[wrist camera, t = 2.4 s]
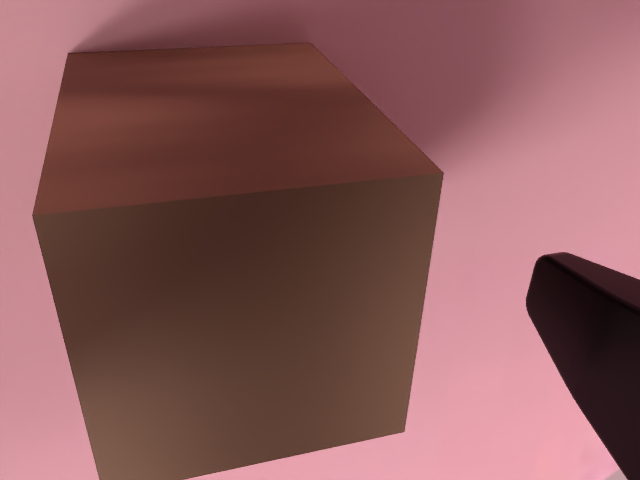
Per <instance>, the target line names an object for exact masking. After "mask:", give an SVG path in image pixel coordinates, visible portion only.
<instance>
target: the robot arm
mask: <svg viewBox="0 0 640 480" xmlns="http://www.w3.org/2000/svg"><path fill="white" fill-rule="evenodd" d="M526 307H527V311H528V314H529V316H530V318H531V320H532V322H533V324H534V326H535V328H536V330H537V331H538V333H539V335H540V337H541V339H542V341H543V343H544V345H545V347H546V348H547V350H548V352H549V354H550V356H551V358H552V360H553V362H554V364H555V365H556V367H557V369H558V371H559V373H560V375H561V377H562V379H563V380H564V382H565V384H566V386H567V388H568V389H569V391H570V393H571V395H572V396H573V398H574V400H575V401H576V403H577V404H578V406H579V408H580V409H581V411H582V412H583V414H584V415H585V417H586V418H587V420H588V421H589V423H590V424H591V426H592V427H593V429H594V430H595V432H596V433H597V435H598V436H599V438H600V439H601V441H602V442H603V444H604V445H605V447H606V448H607V450H608V451H609V453H610V454H611V456H612V457H613V459H614V460H615V462H616V463H617V465H618V466H619V468H620V469H621V471H622V472H623V474H624V475H625V476H626V478H627V479H628V480H640V280H639V279H636V278H634V277H631V276H628V275H626V274H623V273H620V272H618V271H615V270H612V269H610V268H607V267H604V266H602V265H599V264H596V263H594V262H591V261H589V260H586V259H583V258H581V257H578V256H575V255H573V254H570V253H566V252H560V253H553V254H547V255H543V256H541V257H539V258H538V260H537V261H536V263H535V266H534V270H533V274H532V278H531V281H530V285H529V289H528V293H527V297H526Z"/></svg>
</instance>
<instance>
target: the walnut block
mask: <svg viewBox="0 0 640 480" xmlns="http://www.w3.org/2000/svg"><path fill="white" fill-rule="evenodd" d="M442 180H443V172H442V171H441V170H440V169H439V168H438V167H437V166H436V165H435V164H434V163H433V162H432V161H431V160H430V159H429V158H428V157H427V156H426V155H425V154H424V153H423V152H422V151H421V150H420V149H419V148H418V147H417V146H416V145H415V144H414V143H413V142H412V141H411V140H410V139H409V138H408V137H407V136H406V135H405V134H404V133H403V132H402V131H400V130H399V129H398V128H397V127H396V126H395V125H394V124H393V123H392V122H391V121H390V120H389V119H388V118H387V117H386V116H385V115H384V114H383V113H382V112H381V111H380V110H379V109H378V108H377V107H376V106H375V105H374V104H373V103H372V102H371V101H370V100H369V99H368V98H367V97H366V96H365V95H364V94H363V93H362V92H361V91H360V90H359V89H358V88H356V87H355V86H354V85H353V84H352V83H351V82H350V81H349V80H348V79H347V78H346V77H345V76H344V75H343V74H342V73H341V72H340V71H339V70H338V69H337V68H336V67H335V66H334V65H333V64H332V63H331V62H330V61H329V60H328V59H327V58H326V57H325V56H324V55H323V54H322V53H321V52H320V51H319V50H318V49H317V48H316V47H315V46H314V45H313V44H311V43H293V44H270V45H247V46H224V47H202V48H179V49H156V50H133V51H110V52H87V53H68V55H67V60H66V64H65V69H64V74H63V78H62V83H61V87H60V92H59V96H58V101H57V105H56V110H55V114H54V119H53V124H52V128H51V133H50V137H49V142H48V146H47V151H46V155H45V160H44V165H43V169H42V174H41V178H40V183H39V187H38V192H37V196H36V201H35V205H34V210H33V215H32V216H33V220H34V224H35V228H36V232H37V236H38V240H39V244H40V248H41V252H42V256H43V259H44V263H45V267H46V271H47V275H48V279H49V283H50V287H51V291H52V295H53V299H54V303H55V307H56V311H57V314H58V318H59V322H60V326H61V330H62V334H63V338H64V342H65V346H66V350H67V354H68V358H69V362H70V366H71V369H72V373H73V377H74V381H75V385H76V389H77V393H78V397H79V401H80V405H81V409H82V413H83V417H84V421H85V424H86V428H87V432H88V436H89V440H90V444H91V448H92V452H93V456H94V460H95V464H96V468H97V472H98V475H99V479H100V480H184V479H189V478H193V477H198V476H202V475H207V474H212V473H216V472H221V471H226V470H230V469H235V468H239V467H244V466H249V465H253V464H258V463H263V462H267V461H272V460H277V459H281V458H286V457H290V456H295V455H300V454H304V453H309V452H314V451H318V450H323V449H327V448H332V447H337V446H341V445H346V444H351V443H355V442H360V441H365V440H369V439H374V438H378V437H383V436H388V435H392V434H397V433H402V432H404V431H405V424H406V418H407V411H408V404H409V398H410V391H411V385H412V378H413V371H414V365H415V358H416V352H417V345H418V338H419V332H420V325H421V319H422V312H423V305H424V299H425V292H426V286H427V279H428V272H429V266H430V259H431V253H432V246H433V239H434V233H435V226H436V220H437V213H438V206H439V200H440V193H441V187H442Z"/></svg>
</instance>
